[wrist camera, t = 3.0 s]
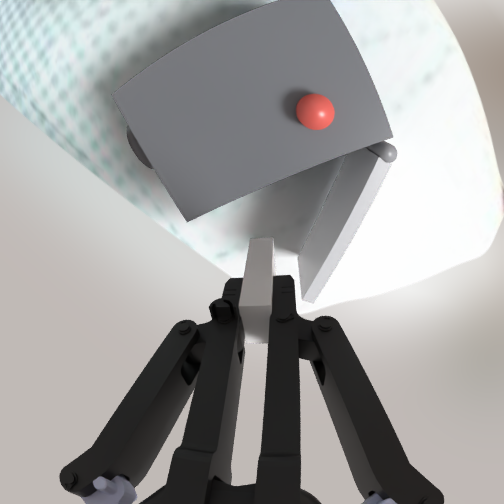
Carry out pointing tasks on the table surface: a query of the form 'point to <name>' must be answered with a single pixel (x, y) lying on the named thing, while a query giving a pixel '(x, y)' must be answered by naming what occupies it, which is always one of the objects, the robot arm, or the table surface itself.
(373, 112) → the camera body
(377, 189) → the door
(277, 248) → the table surface
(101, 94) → the table surface
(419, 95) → the table surface
